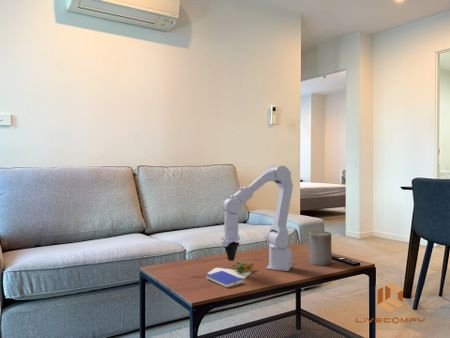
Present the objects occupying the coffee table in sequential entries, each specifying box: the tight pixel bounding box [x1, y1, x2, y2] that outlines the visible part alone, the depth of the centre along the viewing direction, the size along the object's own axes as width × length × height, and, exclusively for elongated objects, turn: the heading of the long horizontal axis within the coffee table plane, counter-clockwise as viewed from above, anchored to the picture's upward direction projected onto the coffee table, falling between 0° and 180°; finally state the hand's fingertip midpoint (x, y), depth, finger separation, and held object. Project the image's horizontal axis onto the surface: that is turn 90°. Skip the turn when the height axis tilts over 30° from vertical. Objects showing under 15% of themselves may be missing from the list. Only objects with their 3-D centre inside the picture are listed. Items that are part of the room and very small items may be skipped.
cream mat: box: [206, 267, 252, 280], centre depth 149 cm, size 16×9×1 cm, turn 67°
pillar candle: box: [308, 230, 333, 267], centre depth 165 cm, size 10×10×15 cm
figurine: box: [232, 262, 255, 273], centre depth 151 cm, size 3×12×8 cm
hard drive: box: [205, 271, 244, 288], centre depth 139 cm, size 2×8×12 cm
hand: (231, 260), depth 150 cm, fingers closed
